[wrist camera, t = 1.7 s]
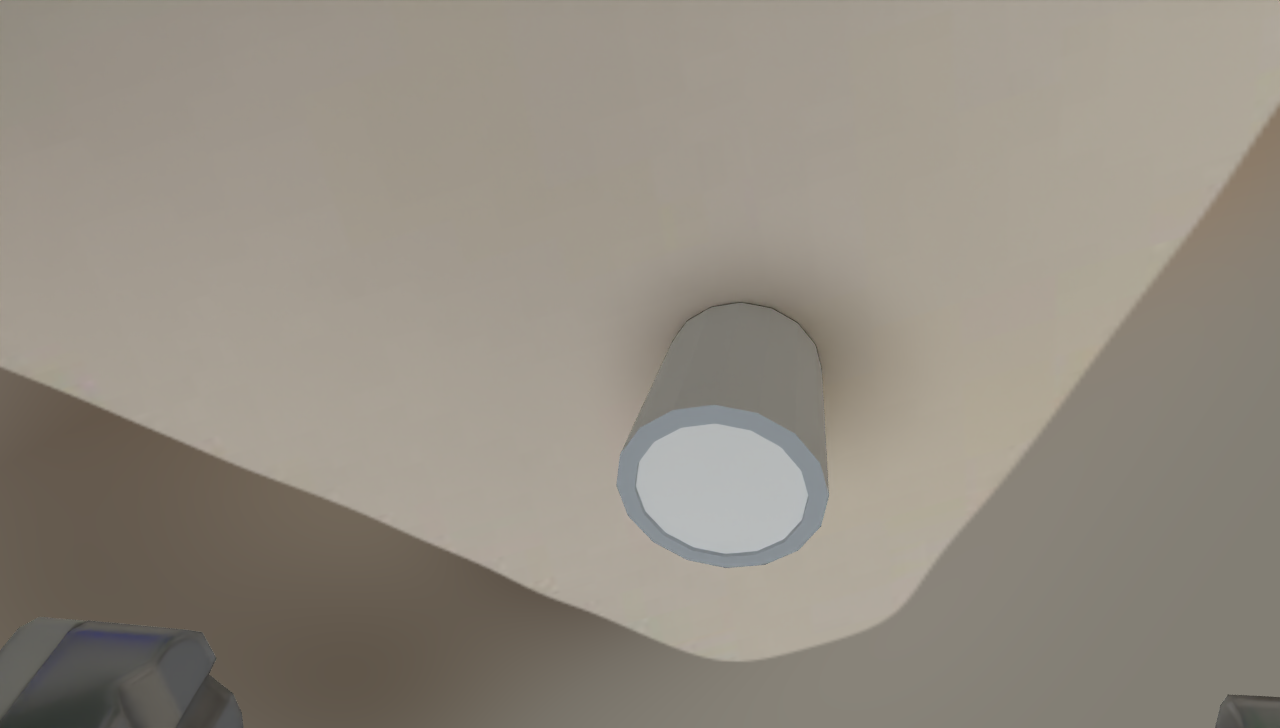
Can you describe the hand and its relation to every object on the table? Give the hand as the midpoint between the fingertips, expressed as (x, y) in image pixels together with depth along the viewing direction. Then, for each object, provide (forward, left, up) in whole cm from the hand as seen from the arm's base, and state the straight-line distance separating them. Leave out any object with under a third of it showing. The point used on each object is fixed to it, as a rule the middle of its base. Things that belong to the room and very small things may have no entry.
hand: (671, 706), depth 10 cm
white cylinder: (-4, -18, -30) cm, 35 cm away
